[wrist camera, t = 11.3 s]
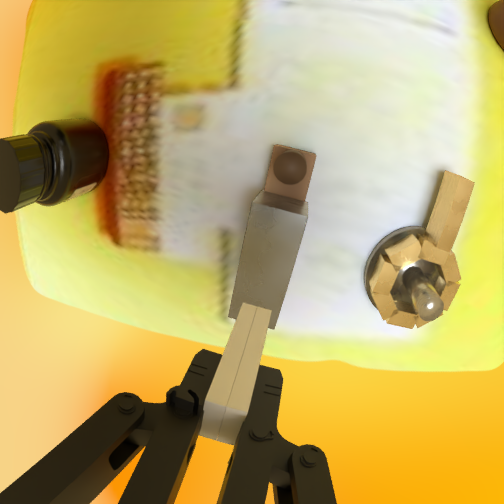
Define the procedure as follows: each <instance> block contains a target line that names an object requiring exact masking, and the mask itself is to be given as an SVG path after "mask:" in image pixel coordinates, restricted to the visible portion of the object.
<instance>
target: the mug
mask: <svg viewBox="0 0 504 504" xmlns="http://www.w3.org/2000/svg"><path fill="white" fill-rule="evenodd" d="M488 19H489V24H490V27H491V30H492V32H493V34H494V36H495V38H496V40H497V41H498V43H499V44H500V46H501V47H502V48H503V49H504V0H499V1H498V2H496V3H494V4H493V5H492V6H491V8H490V9H489V14H488Z"/></svg>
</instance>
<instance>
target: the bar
mask: <svg viewBox="0 0 504 504" xmlns="http://www.w3.org/2000/svg"><path fill="white" fill-rule="evenodd" d="M307 219H308V202H305V201H302V200H298V199H294V198H290V197H286V196H282V195H278V194H274V193H270V192H266V191H262V190H261V191H260V193H259V194H258V195H257V197H256V198H255V199H254V200H253V202H252V205H251V209H250V214H249V219H248V223H247V228H246V233H245V238H244V242H243V247H242V252H241V257H240V262H239V266H238V271H237V276H236V281H235V286H234V291H233V296H232V300H231V305H230V310H229V315H228V317H230V318H233V319H237V317H238V314H239V311H240V309H241V306H242V304H243V303H247V304H250V305H254V306H257V307H261V308H265V309H268V310H272V311H271V316H270V321H269V325H268V328H270V329H275V326H276V322H277V319H278V316H279V313H280V310H281V307H282V304H283V300H284V297H285V294H286V291H287V287H288V284H289V281H290V277H291V274H292V271H293V267H294V264H295V261H296V257H297V254H298V250H299V247H300V244H301V240H302V237H303V233H304V230H305V226H306V222H307ZM256 310H257V309H256Z"/></svg>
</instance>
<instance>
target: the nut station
mask: <svg viewBox="0 0 504 504" xmlns="http://www.w3.org/2000/svg"><path fill="white" fill-rule="evenodd" d="M425 231H426V228H425V227H419V226H410V227H404V228H401V229H398V230H396V231H394V232H392V233H390V234H389V235H387V236H386V237H385V238H383V239H382V240H381V241H380V242H379V243H378V244H377V246H376V247H375V248H374V249H373V251H372V253H371V254H370V256H369V259H368V261H367V264H366V268H365V275H364V280H365V286H366V290H367V293H368V296H369V299H370V300H371V302H372V304H373V305H374V306H375V307H376V308H377V306H376V304H375V302H374V300H373V297H372V295H371V292H370V289H369V286H370V283H369V280H370V277H371V275H372V273H373V270H374V268H375V265H376V262H377V260H378V257H379V255H380V253H382V254H385V255H387V254H386V252H385V249H384V248H386V247H388V246H390V245H392V244H394V243H396V242H397V241H399V240H401V239H403V238H405V237H407V236H408V235H410V234H413V235H414V236H415V237H416V236H417V233H419V234H422V235H424V233H425ZM438 277H439V272H438V269H437V266H436V263H433V262H430V261H427V260H424V259H420V260H418V261H416V262H414V263H413V264H411V265H409V266H407V267H405V268H403V269H401V270H399V273H398V275H397V277H396V280H395V282H394V284H393V286H392V289H391V291H390V294H391V296H392V298H393V300H397V301H401V302H405V303H409V304H414V306H415V308H416V310H417V312H418V314H419V316H420V318H421V319H422V320H424V321H433V320H435V319H436V318H438V317H439V316H440V315H441V313H442V312H443V309H444V303H443V301H442V299H441V298H440V296H439V295H438V293H437V292H436V290H435V289H434V285H435V283H436V281H437V279H438ZM377 309H378V308H377Z"/></svg>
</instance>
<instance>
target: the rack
mask: <svg viewBox="0 0 504 504" xmlns="http://www.w3.org/2000/svg"><path fill="white" fill-rule="evenodd" d="M315 159H316V154H314V153H310V152H307V151H303V150H299V149H295V148H291V147H287V146H282V145H278V144H276V145H274V148H273V153H272V157H271V162H270V166H269V171H268V175H267V180H266V184H265V189H264V191H266V192H270V193H274V194H278V195H282V196H286V197H290V198H294V199H298V200H302V201H305V198H306V194H307V191H308V187H309V183H310V179H311V175H312V171H313V167H314V163H315Z"/></svg>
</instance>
